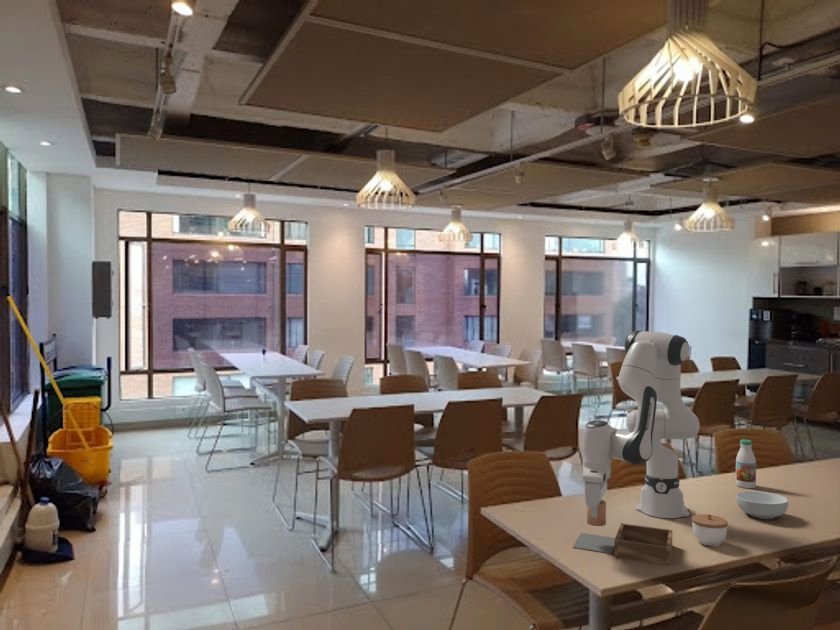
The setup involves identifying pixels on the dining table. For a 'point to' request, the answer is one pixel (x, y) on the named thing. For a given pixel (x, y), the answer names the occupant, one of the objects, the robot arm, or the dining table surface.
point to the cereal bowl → (762, 504)
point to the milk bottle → (745, 465)
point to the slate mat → (595, 543)
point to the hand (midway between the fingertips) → (596, 513)
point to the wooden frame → (641, 549)
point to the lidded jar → (709, 529)
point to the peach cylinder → (601, 517)
